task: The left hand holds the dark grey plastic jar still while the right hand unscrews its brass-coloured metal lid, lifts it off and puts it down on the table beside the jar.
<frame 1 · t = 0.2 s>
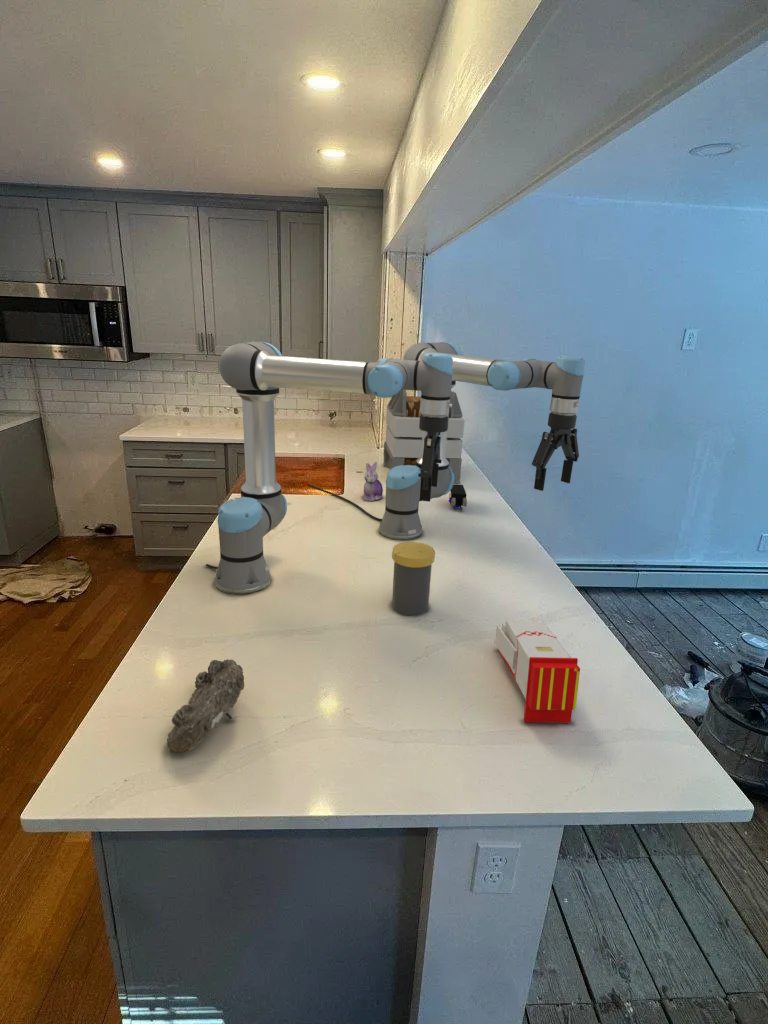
left hand: (428, 493, 154), 28 cm above the counter, tool pointing down, fingers open, 13 cm apart
right hand: (552, 485, 166), 28 cm above the counter, tool pointing down, fingers open, 13 cm apart
jar: (410, 606, 151), on the counter
grey slatted crate: (419, 473, 275), on the counter
toy: (528, 680, 123), on the counter
figurine: (372, 498, 236), on the counter
figurine character: (456, 506, 231), on the counter
lid: (413, 551, 146), point 16 cm above the counter, screwed on, not yet turned
fossil: (212, 717, 108), on the counter
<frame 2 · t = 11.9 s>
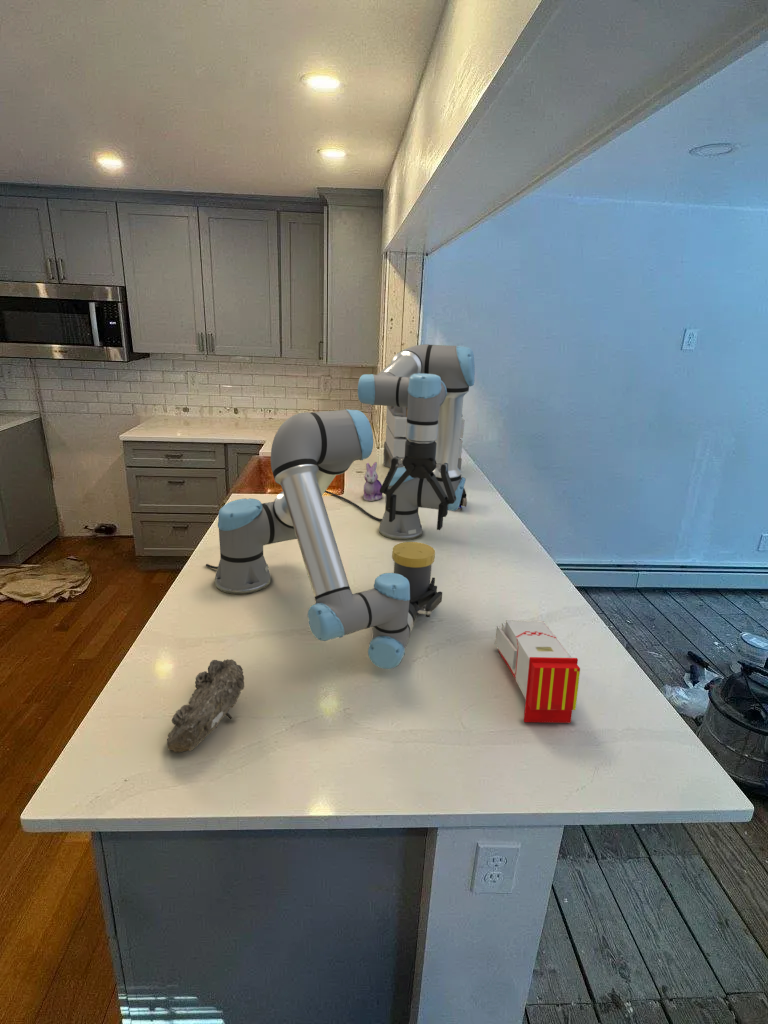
left hand: (414, 579, 153), 6 cm above the counter, tool horizontal, fingers closed on jar, 10 cm apart
right hand: (415, 524, 143), 24 cm above the counter, tool pointing down, fingers open, 12 cm apart
jar: (410, 606, 151), on the counter, touching left hand
everything else where it was.
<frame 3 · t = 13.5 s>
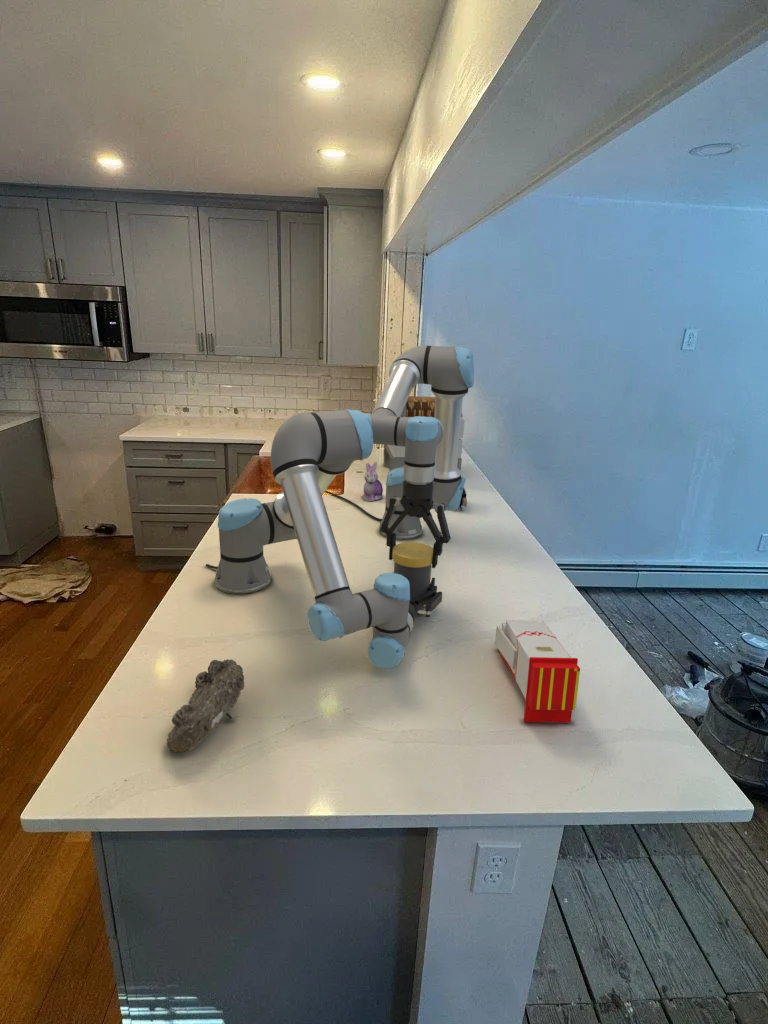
left hand: (414, 579, 153), 6 cm above the counter, tool horizontal, fingers closed on jar, 10 cm apart
right hand: (413, 561, 147), 13 cm above the counter, tool pointing down, fingers closed on lid, 11 cm apart
jar: (410, 606, 151), on the counter, touching left hand
lid: (413, 551, 146), point 16 cm above the counter, screwed on, not yet turned, touching right hand
everything else where it was.
when the right hand's fingers open (1 cm above the counter, at t = 30.8 s): lid drops 2 cm, point 2 cm above the counter.
when the left hand's fingers open (6 cm above the counter, at t = 31.9 s): jar stays where it is, on the counter.
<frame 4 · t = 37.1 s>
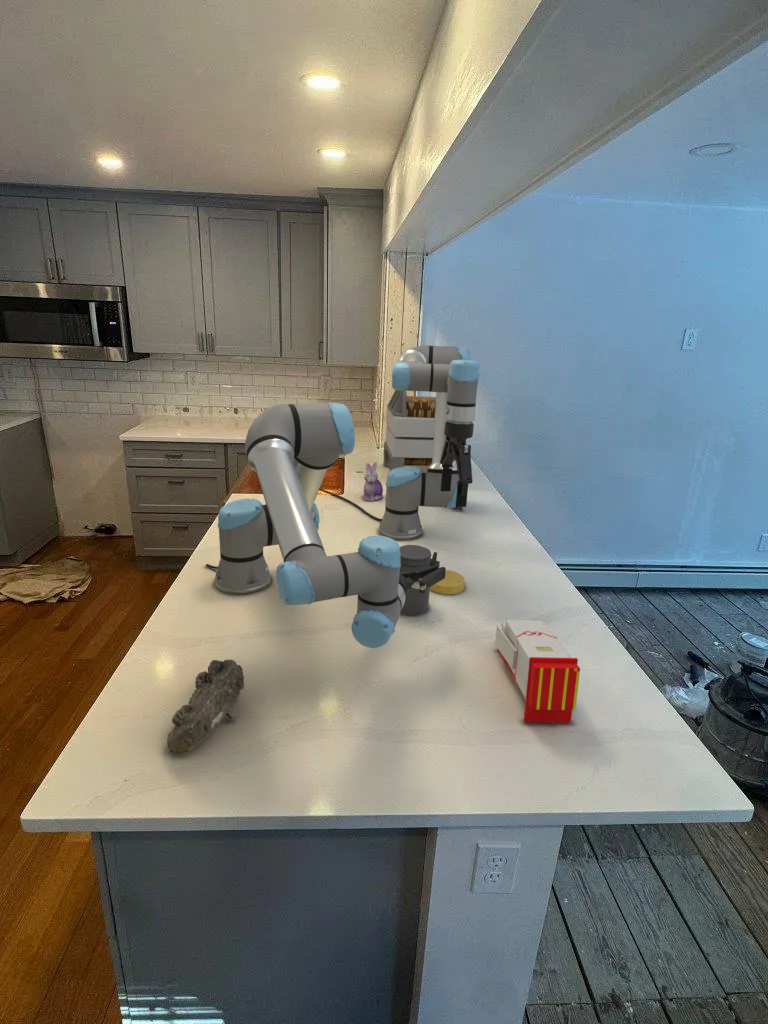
left hand: (406, 553, 135), 20 cm above the counter, tool horizontal, fingers open, 13 cm apart
right hand: (452, 498, 155), 26 cm above the counter, tool pointing down, fingers open, 13 cm apart
jar: (410, 606, 151), on the counter
lid: (445, 579, 163), point 2 cm above the counter, off its thread
everything else where it was.
at the end: lid came off its thread; lid point 2.0 cm above the counter; the left hand is holding nothing; the right hand is holding nothing; jar tilted 0°; jar moved 0.0 cm from its start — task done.
